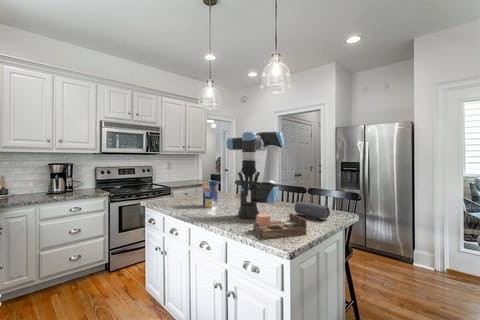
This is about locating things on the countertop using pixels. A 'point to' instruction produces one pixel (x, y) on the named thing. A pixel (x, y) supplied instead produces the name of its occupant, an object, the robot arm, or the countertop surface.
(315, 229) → the countertop surface
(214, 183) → the beverage box
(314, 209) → the bluetooth speaker
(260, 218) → the block
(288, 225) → the box
